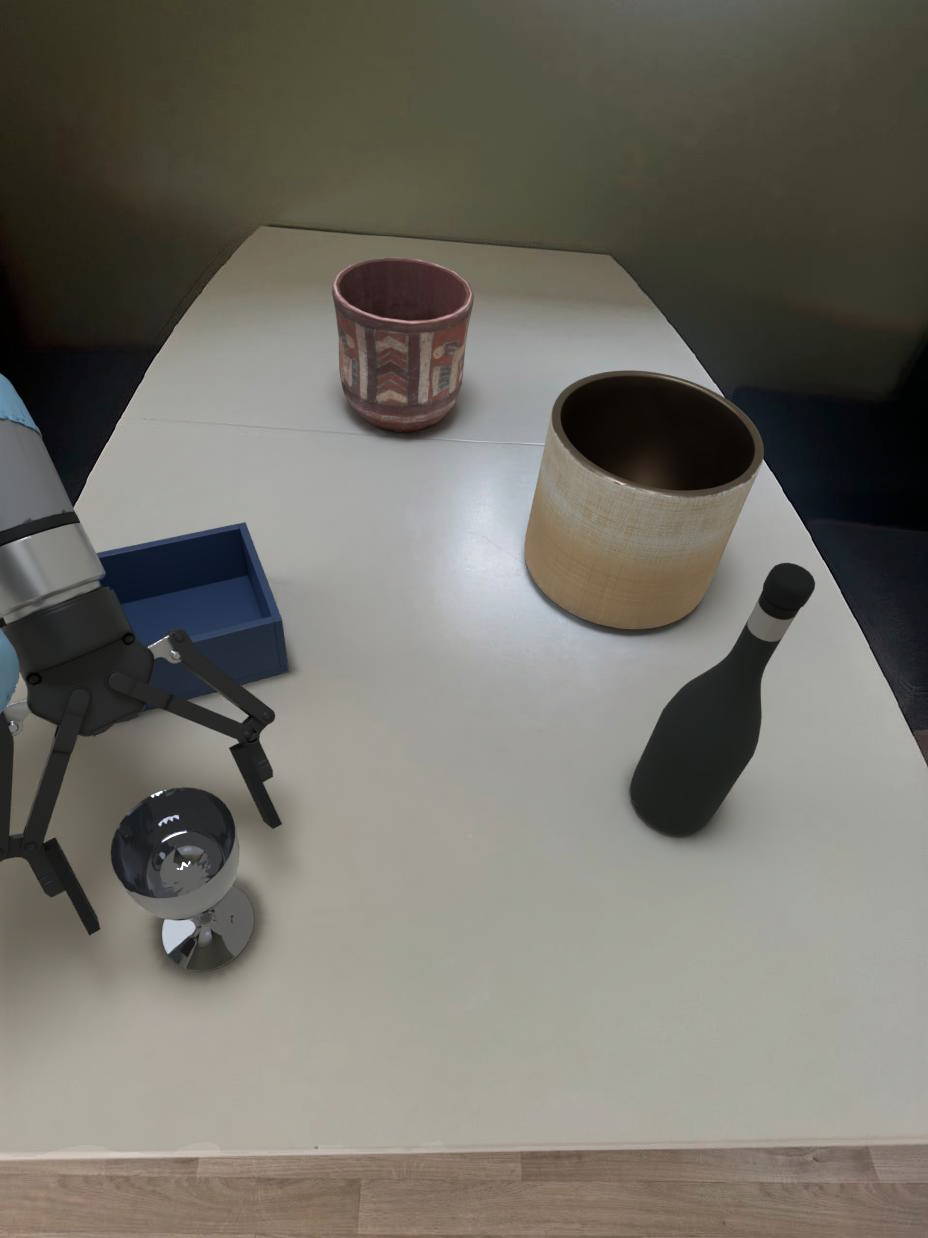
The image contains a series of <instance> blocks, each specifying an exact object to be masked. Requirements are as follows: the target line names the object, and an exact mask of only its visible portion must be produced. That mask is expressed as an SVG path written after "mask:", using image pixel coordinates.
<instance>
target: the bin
mask: <svg viewBox="0 0 928 1238" xmlns="http://www.w3.org/2000/svg"><path fill="white" fill-rule="evenodd" d="M96 554H97V556H98V558H99V560H100V562H101V564H102V566H103V568H104V570H105V572H106V574H105V576H104V578H103V579H101V580H99V581H100V584H101V585H103V587H104V588H105V587H109V588H110V590H113V589H114V591H115V593H116V595H117V598H118V600H119V602H120V604H121V606H122V608H123V610H124V612H125V614H126V616H127V618H128V620H129V623H130V625H131V627H132V629H133V631H134V633H135V635H136V637H137V638H138V640H139V641H140V642H141V643H142V644H143V645H145V646H146V647H147V646H149V645H151V644H152V643H154V642H156V641H158V640H159V639H161V638H163V637H165V636H166V634H167V632H168V631H170V630H173V629H182V630H184V631H185V632H186V633H187V634H188V636H189V637H190V639H191V641H192V642H193V644H194V645H195V647H196V649H197V650H198V652H199V653H200V654H201V655H202V656H204V657H205V658H206V659H207V660H209V661H210V662H211V663H213V664H214V665H215V666H217V667H218V668H219V669H220V670H222V671H223V672H224V673H226V674H227V675H228V676H229V677H231V678H232V679H233V680H235V681H236V682H237V683H238V684H240V685H241V686H242V685H244V684H248V683H252V682H256V681H259V680H263V679H266V678H270V677H273V676H277V675H281V674H285V673H288V672H290V670H289V662H288V654H287V646H286V639H285V632H284V623H283V618H282V615H281V613H280V610H279V607H278V605H277V603H276V600H275V597H274V594H273V591H272V589H271V586H270V584H269V581H268V578H267V575H266V573H265V571H264V567H263V565H262V562H261V560H260V557H259V554H258V551H257V549H256V547H255V544H254V540H253V539H252V535H251V533H250V530H249V528H248V524H247V522H245V521H244V522H239V523H235V524H230V525H225V526H219V527H214V528H210V529H205V530H200V531H195V532H191V533H190V532H189V533H185V534H181V535H176V536H171V537H167V538H162V539H157V540H153V541H148V542H143V543H137V544H133V545H128V546H123V547H118V548H114V549H109V550H104V551H99V552H96ZM150 685H151V686H153V687H156V688H158V689H161V690H163V691H165V692H168V693H170V694H173V695H175V696H177V697H180V698H182V699H185V700H191V699H193V698H197V697H200V696H205V695H208V694H211V693H216V692H217V691H216V690H214V689H213V688H212V687H210V686H209V685H208V684H206V683H205V682H204V681H202V680H201V679H200V678H198V677H197V676H196V675H195V674H193V673H192V672H191V671H189V670H188V669H187V668H186V667H184V666H183V665H182V664H181V662H179V663H175V664H174V663H169V662H168V661H166V660H165V659H164V658H162V657H159V658H156V659H155V665H154V669H153V674H152V678H151V683H150ZM157 708H158V707H155V706H153V705H150V704H148V703H146V704H145V707H144V709H143V710H142V711H141V712H140V713H143V712H146V711H149V710H153V709H157Z"/></svg>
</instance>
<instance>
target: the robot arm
mask: <svg viewBox="0 0 928 1238" xmlns="http://www.w3.org/2000/svg"><path fill="white" fill-rule="evenodd" d="M47 449H48V448H47V447H46V445H45V443H44V441H43V435H42V433H41V431H40V428H39V427H38V426H37V425H36V423H35V421H34V420H33V417H32V416H31V414H30V412H29V411H28V408H27V407H26V405H25V403H24V401H23V399H22V398H21V397H20V395H19V394H18V392H17V391H16V389H15V387H14V385H13V384H12V382H11V381H10V380H9V379H8V378H7V377H6V376H5V375H3V374H1V373H0V619H2V618H3V620H4V622H5V624H6V625H4V626H2V627H0V863H1V862H3V861H4V860H10V859H14V858H15V859H16V858H19V859H20V858H21V859H24V860H25V861H26V862H27V863H28V865H29V867H30V868H31V870H32V872H33V874H34V876H35V878H36V880H37V881H38V883H39V886H40V887H41V890H42V891H43V892H44V894H45V895H46V896H48V897H49V898H50V899H53V898H54V897H57V896H58V895H60V894H62V893H64V892H65V893H66V894H67V896H68V898H69V900H70V902H71V904H72V906H73V908H74V909H75V911H76V913H77V915H78V917H79V920H80V921H81V922H82V925H83V926H84V928H85V930H86V932H87V934H88V936H91V935H93V934H95V933H96V932H98V931H100V930H101V925H100V921H99V918H98V915H97V913H96V912H95V910H94V908H93V906H92V904H91V901H90V900H89V898H88V896H87V894H86V893H85V890H84V888H83V887H82V885H81V882H80V881H79V879H78V877H77V875H76V873H75V872H74V870H73V869H74V868H73V867H72V866H71V863H70V862H69V860H68V858H67V856H66V854H65V852H64V850H63V849H62V847H61V845H60V842H59V841H58V839H57V837H56V836H54V837H53V838H50V839H48V840H47V841H45V838H46V835H47V832H48V828H49V825H50V822H51V820H52V817H53V813H54V810H55V807H56V804H57V800H58V797H59V795H60V791H61V788H62V785H63V782H64V778H65V775H66V772H67V769H68V766H69V763H70V759H71V758H72V757H71V756H72V755H73V752H74V749H75V745H76V742H77V740H78V737H85V738H86V737H87V738H89V737H93V738H95V737H97V736H99V735H101V734H103V733H106V732H107V731H108V730H109V729H110V728H112V727H113V726H114V725H116V724H120V723H121V724H122V723H125V722H129V721H131V720H133V719H135V718H138V717H139V714H141V713H142V712H143V711H142V710H143V709H144V707H145V704H146V703H148V704H150V705H153V706H155V707H157V708H158V709H160V710H163V711H166V712H168V713H170V714H173V715H175V716H178V717H180V718H183V719H185V720H187V721H190V722H193V723H195V724H198V725H200V726H202V727H205V728H208V729H210V730H213V731H215V732H217V733H220V734H222V735H225V736H227V737H230V738H232V739H235V740H236V741H237V743H236V744H233V745H231V746H230V747H228V749H229V751H230V754H231V756H232V758H233V760H234V763H235V764H236V766H237V768H238V771H239V773H240V775H241V777H242V779H243V781H244V783H245V785H246V788H247V789H248V791H249V794H250V797H251V798H252V801H253V802H254V804H255V806H256V809H257V811H258V813H259V815H260V817H261V819H262V822H263V823H264V824H266V825H267V826H268V827H269V828H271V829H272V830H275V829H276V828H279V827H280V826H282V825H283V823H282V820H281V818H280V815H279V814H278V812H277V810H276V808H275V806H274V804H273V801H272V798H271V796H270V794H269V793H268V790H267V788H266V785H264V783H265V782H266V781H268V780H270V779H272V778H274V770H273V767H272V765H271V762H270V761H269V759H268V757H267V754H266V752H265V750H264V748H263V746H262V743H261V741H260V737H261V733H262V732H263V731H264V730H265V728H266V727H268V725H271V724H273V722H274V721H275V719H276V713H275V711H274V710H273V709H272V708H271V707H269V706H268V705H267V704H265V703H264V702H263V701H262V700H261V699H259V698H258V697H257V696H255V695H254V694H252V692H250V691H249V690H247V689H246V688H245V687H244V686H242V684H241V685H240V684H238V683H237V682H236V681H235V680H233V679H232V678H231V677H229V676H228V675H227V674H226V673H224V672H223V671H222V670H220V669H219V668H218V667H217V666H215V665H214V664H213V663H211V662H210V661H209V660H207V659H206V658H205V657H204V656H202V655H201V654H200V653H199V652H198V650H197V649H196V647H195V645H194V644H193V642H192V641H191V639H190V637H189V636H188V634H187V633H186V632H185V631H184V630H182V629H173V630H170V631H168V632H167V634H166V636H165V637H163V638H161V639H159V640H158V641H156V642H154V643H152V644H151V645H149V646H147V647H146V646H145V645H143V644H142V643H141V642H140V641H139V640H138V638H137V637H136V635H135V633H134V631H133V629H132V627H131V625H130V623H129V620H128V618H127V616H126V614H125V612H124V610H123V608H122V606H121V604H120V602H119V600H118V598H117V595H116V593H115V591H114V589H113V590H110V588H109V587H105V588H104V587H103V585H101V584H100V581H99V580H101V579H103V578H104V576H105V574H106V572H105V570H104V568H103V566H102V564H101V562H100V560H99V558H98V556H97V554H96V553H97V552H96V550H95V548H94V546H93V543H92V542H91V540H90V537H89V535H88V533H87V531H86V530H85V526H84V525H83V524H82V523H81V521H80V518H79V516H78V514H77V513H76V511H75V509H74V507H73V505H72V501H71V500H70V498H69V495H68V494H67V491H66V489H65V487H64V484H63V482H62V480H61V478H60V475H59V474H58V471H57V469H56V467H55V464H54V462H53V461H52V458H51V456H50V454H49V452H48V450H47ZM159 657H162V658H164V659H165V660H166V661H168V662H169V663H174V664H175V663H179V662H181V664H182V665H183V666H184V667H186V668H187V669H188V670H189V671H191V672H192V673H193V674H195V675H196V676H197V677H198V678H200V679H201V680H202V681H204V682H205V683H206V684H208V685H209V686H210V687H212V688H213V689H214V690H216V692H217V693H218V694H219V695H220V696H222V697H223V698H225V699H226V700H227V701H229V702H230V703H232V704H233V705H234V706H235V707H237V708H238V709H239V710H240V711H242V712H243V713H245V714H246V715H247V717H246V718H245V719H244V720H243V721H242V722H240V721H238V720H234V719H233V718H231V717H228V716H225V715H223V714H220V713H218V712H215V711H213V710H210V709H209V708H205V706H201V705H199V704H196V703H194V702H192V701H189V700H188V699H186V700H185V699H182V698H180V697H177V696H175V695H173V694H170V693H168V692H165V691H163V690H161V689H158V688H156V687H153V686H151V685H150V683H151V678H152V674H153V669H154V665H155V659H156V658H159ZM20 676H21V678H22V680H23V682H24V684H25V686H26V691H27V693H26V694H27V695H26V698H24V699H21V700H18V701H14V702H11V703H10V701H11V700H12V697H13V694H14V693H15V692H16V688H17V685H18V683H19V678H20ZM141 711H142V712H141ZM31 714H32V715H33V716H36V717H37V718H40V719H41V720H44V721H46V722H48V723H50V724H53V725H55V726H56V727H55V731H54V733H53V737H52V740H51V743H50V747H49V750H48V753H47V757H46V760H45V763H44V765H43V769H42V772H41V776H40V779H39V782H38V785H37V788H36V791H35V794H34V797H33V801H32V804H31V806H30V810H29V813H28V816H27V819H26V821H25V822H26V823H25V825H24V828H23V831H22V833H15V834H10V832H11V814H12V798H13V797H12V796H13V795H12V794H13V777H14V776H13V775H14V758H15V757H14V756H15V755H14V754H15V740H14V737H17V736H18V735H20V734H21V733H22V732H23V730H24V722H25V718H27V717H28V716H29V715H31Z"/></svg>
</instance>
